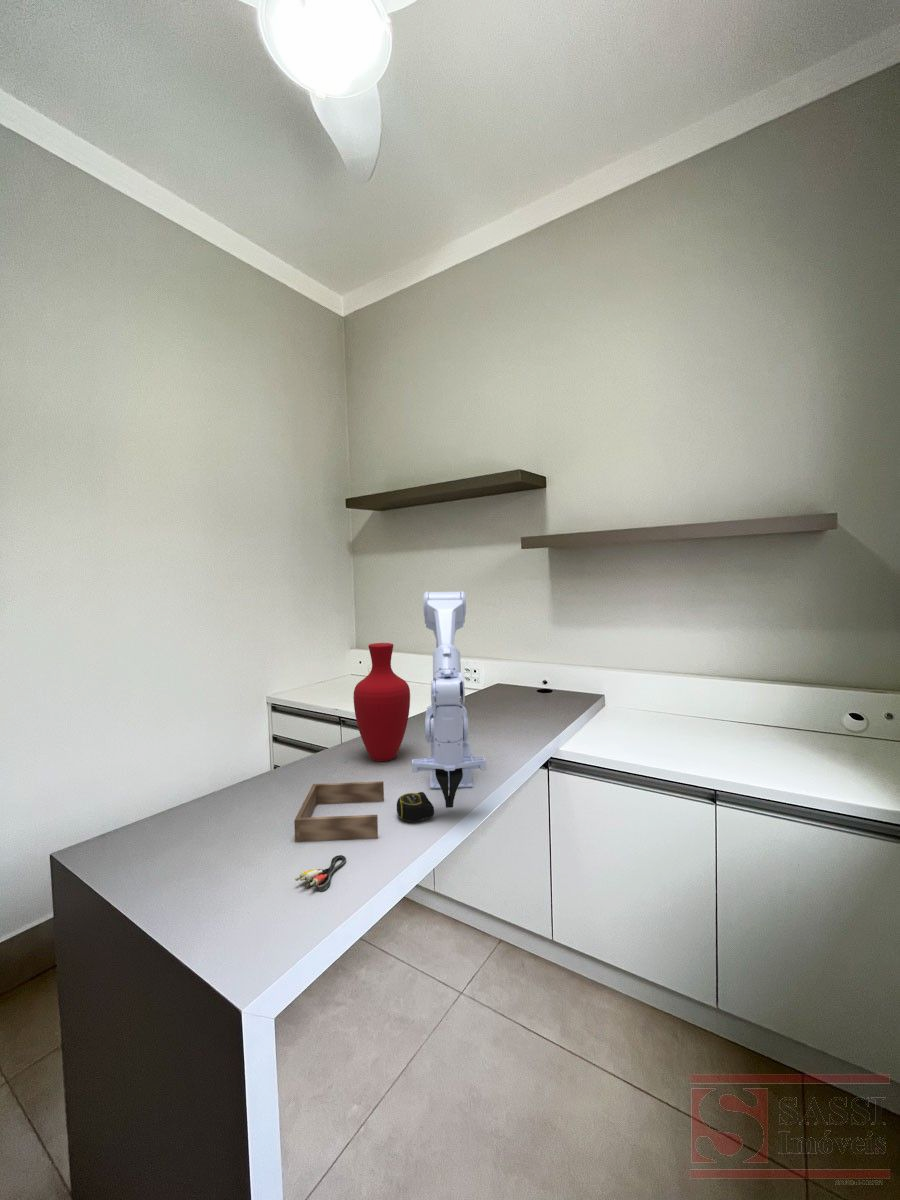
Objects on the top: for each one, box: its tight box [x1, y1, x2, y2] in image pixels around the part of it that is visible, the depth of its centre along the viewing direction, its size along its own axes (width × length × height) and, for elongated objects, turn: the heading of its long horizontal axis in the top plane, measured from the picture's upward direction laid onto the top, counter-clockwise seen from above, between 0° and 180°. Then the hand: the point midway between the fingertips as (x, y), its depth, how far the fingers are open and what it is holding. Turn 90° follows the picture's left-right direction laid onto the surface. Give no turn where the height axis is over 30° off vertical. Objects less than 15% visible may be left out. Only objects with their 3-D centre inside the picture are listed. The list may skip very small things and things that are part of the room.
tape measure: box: [396, 791, 435, 823], centre depth 99 cm, size 7×7×4 cm
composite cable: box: [294, 854, 347, 892], centre depth 79 cm, size 10×5×2 cm, turn 149°
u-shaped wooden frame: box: [293, 781, 385, 843], centre depth 98 cm, size 15×16×4 cm
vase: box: [353, 642, 411, 762], centre depth 130 cm, size 15×15×30 cm
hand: (449, 805), depth 99 cm, fingers closed
